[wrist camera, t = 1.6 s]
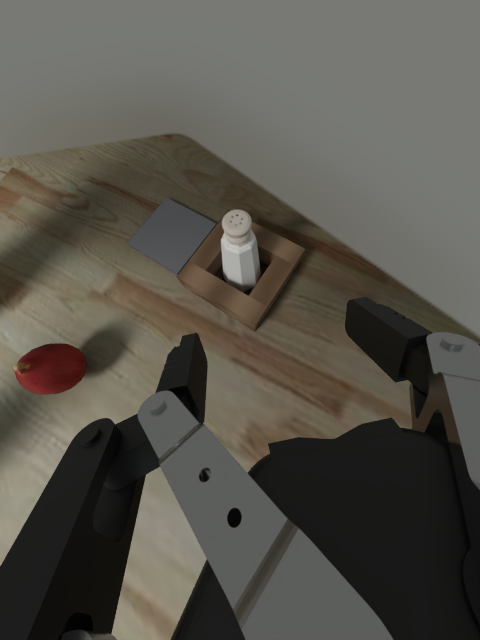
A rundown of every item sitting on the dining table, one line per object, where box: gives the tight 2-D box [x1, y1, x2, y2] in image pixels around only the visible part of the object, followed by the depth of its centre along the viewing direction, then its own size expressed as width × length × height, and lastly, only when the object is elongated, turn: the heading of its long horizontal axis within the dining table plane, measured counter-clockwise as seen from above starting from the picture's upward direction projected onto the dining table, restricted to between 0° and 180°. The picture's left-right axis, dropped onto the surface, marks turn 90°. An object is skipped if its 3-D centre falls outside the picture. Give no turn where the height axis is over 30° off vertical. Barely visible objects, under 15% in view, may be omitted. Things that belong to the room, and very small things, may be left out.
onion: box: [13, 344, 87, 394], centre depth 23 cm, size 6×6×8 cm
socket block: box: [177, 210, 305, 331], centre depth 27 cm, size 12×12×4 cm
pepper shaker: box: [221, 210, 261, 292], centre depth 24 cm, size 5×5×11 cm
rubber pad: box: [127, 198, 217, 275], centre depth 31 cm, size 10×10×1 cm
